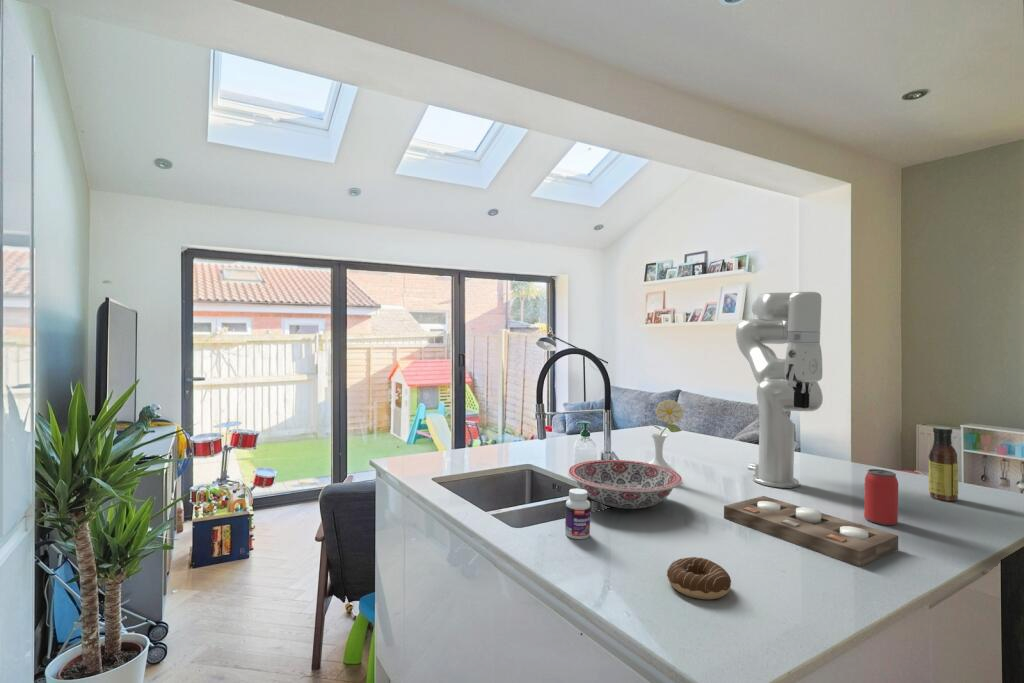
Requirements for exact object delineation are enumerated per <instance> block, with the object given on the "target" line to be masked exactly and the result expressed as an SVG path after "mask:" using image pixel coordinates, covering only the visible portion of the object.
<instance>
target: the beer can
mask: <svg viewBox="0 0 1024 683" xmlns="http://www.w3.org/2000/svg"><path fill="white" fill-rule="evenodd" d="M896 475H897V473H895V472H893V471H891V470H890V471H889V470H887V469H878V468H869V469H868V470H867V473H866V474H865V477H864V501H863V502H864V504H863V506H864V509H863V510H864V511H863V512H864V513H863V515H864V516H863V517H864V518H865V520H867V521H868V520H869V521H868V522H870V521H871V523H873V522H874V523H873V524H876V523H878V524H877V525H881V524H883V526H895V525H897V524H898V522H899V521H898V519H899V518H898V517H899V515H898V514H899V481H898V478H897V476H896Z"/></svg>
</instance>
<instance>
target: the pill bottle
mask: <svg viewBox="0 0 1024 683" xmlns="http://www.w3.org/2000/svg"><path fill="white" fill-rule="evenodd" d="M568 498H569V499H568ZM568 498H567V500H566V502H565V522H564V523H565V525H564V531H565V532H564V533H565V535H566V536H567V537H569V538H570V539H574V540H584V539H587V538H589V537H590V534H591V533H590V532H591V526H590V525H591V502H590V501H589V500H588V495H587V491H586V490H584V489H581V488H570V489H569V492H568Z"/></svg>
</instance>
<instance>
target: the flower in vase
mask: <svg viewBox="0 0 1024 683" xmlns="http://www.w3.org/2000/svg"><path fill="white" fill-rule="evenodd" d="M684 412H685V411H684V410H683V407H682V405H681V404H680V403H679V402H678V401H676V400H674V399H673V400H671V399H670V398H669V399H667V400H666V399H664V400H663V401H661V402H659V403H658V405H656V409H655V414H656V417H657V419H658V421H660V422H662V423H664V424H665V423H666V426H665V427H664V428H663V429H662V428H661V427H659V426H657V425H655V424H653V423H652V422H651V423H650V424H651V425H652V426H653V427H654V428H656V429H658V430H660V431H661V433H660V432H658V433H657V432H654V433H651V434H650V436H651V437H652V439H653V443H654V457H653V458H652V460H650V461H649V462H648V463H649V464H654V465H658V466H662V467H665V468H668V469H670V470H673V471H675V472H676V473H678V472H677V471H676V470H675V469H674V467H672V466H671V464H669V463H668V462H667V461H666V460H665V459H664V454H663V448H664V445H665V444H664V443H665V441H666V438H667V437H668V434H666V433H664V432H665V430H666V429H668V430H669V432H671V433H679V432H682V429H681V428H680V427H679V426H678V425H677V424H675V423H678V422H680V421H681V420H682V418H683V415H684Z"/></svg>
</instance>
